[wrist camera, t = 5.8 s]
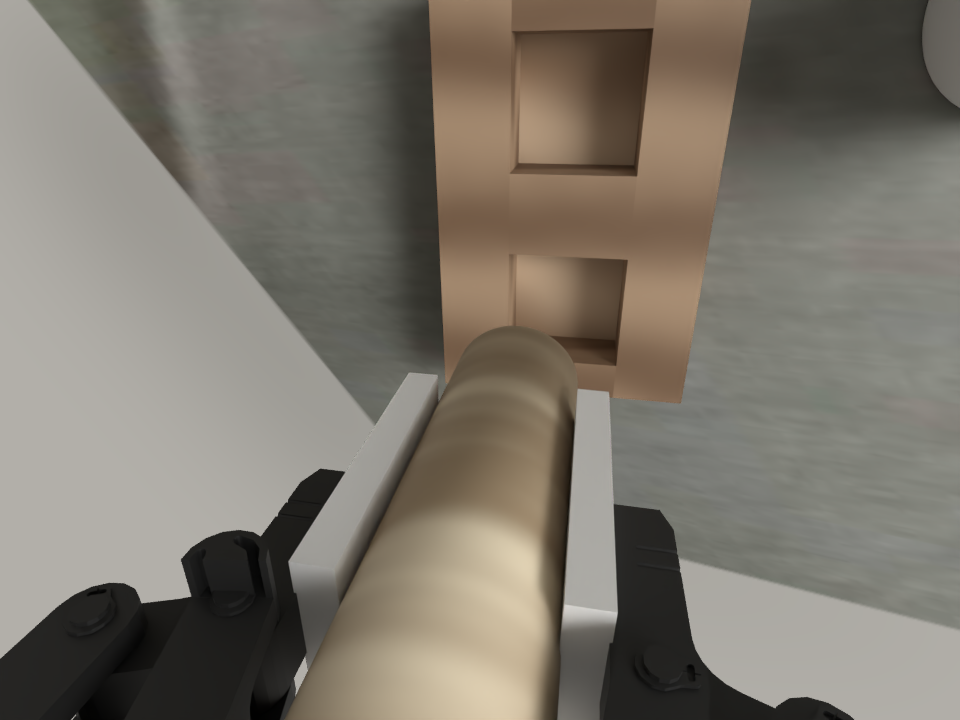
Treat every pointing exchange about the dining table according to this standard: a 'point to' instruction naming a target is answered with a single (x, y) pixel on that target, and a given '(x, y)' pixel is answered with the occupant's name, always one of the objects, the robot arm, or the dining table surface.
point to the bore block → (582, 175)
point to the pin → (464, 555)
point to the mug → (943, 46)
